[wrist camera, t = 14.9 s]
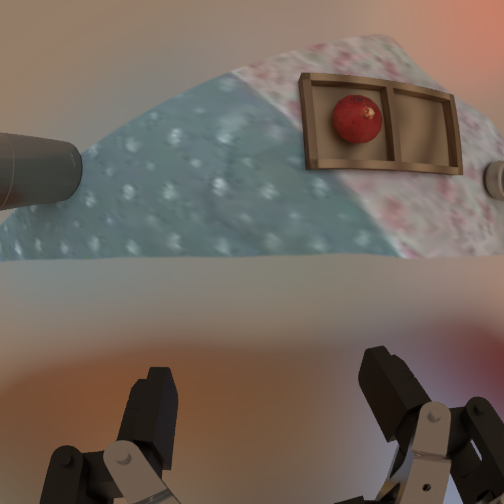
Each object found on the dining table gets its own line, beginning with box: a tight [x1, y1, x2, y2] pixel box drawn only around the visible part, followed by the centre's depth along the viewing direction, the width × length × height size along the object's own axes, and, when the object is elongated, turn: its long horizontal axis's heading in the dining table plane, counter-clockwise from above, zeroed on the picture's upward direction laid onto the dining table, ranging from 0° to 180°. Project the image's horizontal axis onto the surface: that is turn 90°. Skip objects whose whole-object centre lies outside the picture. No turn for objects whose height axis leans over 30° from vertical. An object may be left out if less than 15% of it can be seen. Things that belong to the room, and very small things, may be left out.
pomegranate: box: [332, 95, 383, 144], centre depth 27 cm, size 6×6×8 cm
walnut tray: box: [298, 73, 463, 175], centre depth 30 cm, size 23×12×3 cm, turn 93°
